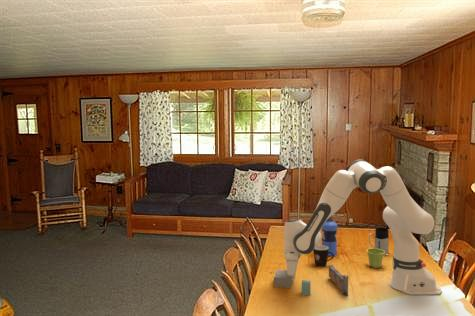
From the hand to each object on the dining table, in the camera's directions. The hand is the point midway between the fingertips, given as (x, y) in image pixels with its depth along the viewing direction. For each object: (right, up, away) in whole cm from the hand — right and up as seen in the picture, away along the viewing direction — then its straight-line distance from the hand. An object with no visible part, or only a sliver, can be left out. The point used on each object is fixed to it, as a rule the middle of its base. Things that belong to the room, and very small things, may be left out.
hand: (293, 278), depth 191 cm
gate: (+21, -2, -1) cm, 22 cm away
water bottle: (+28, +1, +43) cm, 52 cm away
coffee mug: (+20, -1, +25) cm, 32 cm away
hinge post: (+23, -4, -12) cm, 26 cm away
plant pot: (+49, -1, +23) cm, 54 cm away
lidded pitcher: (+58, +1, +42) cm, 72 cm away
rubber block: (-5, -3, +2) cm, 6 cm away
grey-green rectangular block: (+5, -4, -10) cm, 12 cm away
